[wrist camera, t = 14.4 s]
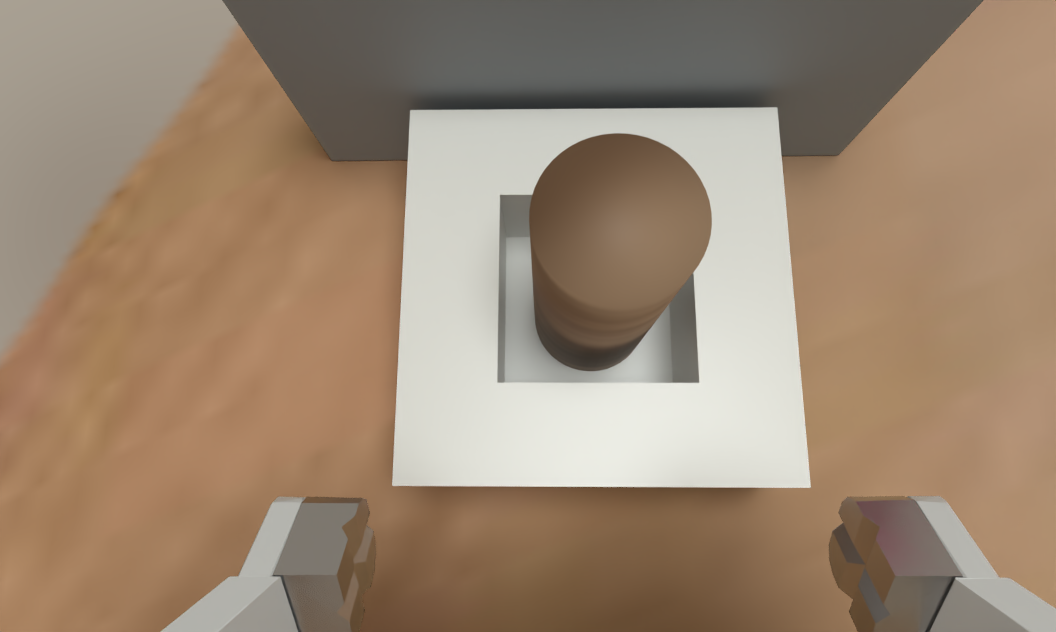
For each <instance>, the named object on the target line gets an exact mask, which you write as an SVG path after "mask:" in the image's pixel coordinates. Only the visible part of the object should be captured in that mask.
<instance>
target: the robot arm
mask: <svg viewBox="0 0 1056 632" xmlns="http://www.w3.org/2000/svg"><path fill="white" fill-rule="evenodd" d="M838 513H839V515H840V517H841V519H842V521H843V523H842V524H841V525H840V526H838V527H837V528H836V529H834V530H833V531H832V535H831V539H830V542H829V561H830V565H831V569H832V573H833V576H834V578H835V581H836V583H837V585H838V588H840V589H841V590H842V591H843V592H844V593H846V594H847V595H848V596H849V597H851V598H852V599H853V601H852V604H851V607H850V610H849V613H850V615H851V618H852V620H853V622H854V624H855V626H856V629H857V631H858V632H1056V608H1054V607H1052V606H1051V605H1049V604H1048V603H1046V602H1045V601H1043V600H1042V599H1040V598H1039V597H1037V596H1036V595H1034V594H1033V593H1031V592H1030V591H1028V590H1027V589H1025V588H1024V587H1022V586H1021V585H1019V584H1018V583H1016V582H1015V581H1013V580H1011V579H1010V578H999V576H998V575H997V573H996V572H995V570H994V569H993V567H992V566H991V565H990V563H989V562H988V560H987V559H986V557H985V556H984V555H983V553H982V552H981V550H980V549H979V547H978V546H977V544H976V543H975V542H974V540H973V539H972V537H971V536H970V534H969V533H968V531H967V530H966V529H965V527H964V526H963V524H962V523H961V521H960V520H959V518H958V517H957V516H956V514H955V513H954V511H953V510H952V508H951V507H950V506H949V504H948V503H947V501H946V500H944V499H943V498H941V497H940V496H908V497H905V496H876V497H847V498H846V499H845V500H844V501H843V502H842V503H841V506H840V509H839V512H838ZM369 514H370V511H369V507H368V503H367V500H366V499H364V498H336V497H277V498H276V499H275V501H274V502H273V503H272V504H271V505H270V507H269V510H268V512H267V514H266V516H265V518H264V521H263V523H262V525H261V527H260V529H259V531H258V534H257V536H256V538H255V540H254V542H253V545H252V547H251V549H250V551H249V553H248V555H247V558H246V560H245V562H244V564H243V566H242V569H241V571H240V573H239V575H238V576H229V577H228V578H227V579H225V580H224V581H223V582H222V583H221V584H219V585H218V586H217V587H216V588H214V589H213V590H212V591H211V592H209V593H208V594H207V595H206V596H204V597H203V598H202V599H201V600H199V601H198V602H197V603H196V604H194V605H193V606H192V607H191V608H189V609H188V610H187V611H186V612H184V613H183V614H182V615H181V616H179V617H178V618H177V619H176V620H174V621H173V622H172V623H171V624H169V625H168V626H167V627H166V628H164V629H163V630H162V631H161V632H359V631H360V627H361V623H362V619H363V615H364V612H365V609H364V604H363V600H362V595H363V594H364V593H365V592H366V591H367V590H368V589H369V588H370V587H371V584H372V579H373V575H374V570H375V560H376V542H375V536H374V531H373V530H372V529H371V528H369V527H368V526H367V522H368V518H369Z"/></svg>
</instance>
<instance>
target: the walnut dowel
mask: <svg viewBox="0 0 1056 632" xmlns="http://www.w3.org/2000/svg"><path fill="white" fill-rule="evenodd" d="M529 227H530V244H531V262H532V279H533V296H534V314H535V325H536V330H537V334H538V336H539V339H540V341H541V343H542V344H543V346H544V347H545V349H546V350H547V351H548V353H549V354H550V355H551V356H552V357H554V358H555V359H556V360H557V361H559V362H560V363H562V364H564V365H566V366H568V367H570V368H573V369H577V370H582V371H600V370H604V369H608V368H610V367H613V366H615V365H617V364H619V363H621V362H622V361H623V360H625V359H626V358H627V357H628V356H629V355H630V354H631V353H632V352H633V350H634V349H635V348H636V347H637V345H638V344H639V343H640V341H641V340H642V339H643V337H644V336H645V335H646V333H647V332H648V331H649V330H650V328H651V327H652V326H653V324H654V323H655V322H656V320H657V319H658V318H659V317H660V315H661V314H662V313H663V311H664V310H665V309H666V307H667V306H668V305H669V303H670V302H671V301H672V300H673V298H674V297H675V296H676V294H677V293H678V292H679V290H680V289H681V288H682V287H683V285H684V284H685V283H686V281H687V280H688V279H689V277H690V276H691V275H692V273H693V272H694V271H695V270H696V268H697V267H698V266H699V264H700V262H701V260H702V259H703V257H704V255H705V252H706V250H707V247H708V244H709V240H710V236H711V228H712V213H711V207H710V201H709V198H708V195H707V192H706V189H705V187H704V185H703V183H702V181H701V179H700V178H699V176H698V175H697V173H696V172H695V170H694V169H693V168H692V167H691V165H690V164H689V163H688V162H687V161H686V160H685V159H684V158H683V157H681V156H680V155H679V154H678V153H677V152H675V151H674V150H672V149H671V148H669V147H668V146H666V145H664V144H662V143H660V142H658V141H655V140H653V139H650V138H647V137H643V136H639V135H634V134H626V133H612V134H603V135H598V136H594V137H590V138H587V139H585V140H582V141H580V142H578V143H576V144H574V145H572V146H570V147H568V148H567V149H566V150H564V151H563V152H561V153H560V154H559V155H558V156H557V157H556V158H554V159H553V160H552V161H551V163H550V164H549V165H548V166H547V167H546V168H545V170H544V171H543V173H542V175H541V176H540V178H539V180H538V182H537V184H536V186H535V188H534V191H533V195H532V198H531V203H530V209H529Z"/></svg>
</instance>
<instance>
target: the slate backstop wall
mask: <svg viewBox="0 0 1056 632" xmlns="http://www.w3.org/2000/svg"><path fill="white" fill-rule="evenodd" d="M982 1H983V0H223V2H224V3H225V5H226V6H227V8H228V9H229V11H230V12H231V13H232V15H233V16H234V18H235V19H236V21H237V22H238V24H239V25H240V27H241V28H242V30H243V31H244V33H245V34H246V35H247V37H248V38H249V40H250V41H251V43H252V44H253V46H254V47H255V49H256V50H257V52H258V53H259V55H260V56H261V57H262V59H263V60H264V62H265V63H266V65H267V66H268V68H269V69H270V71H271V72H272V74H273V75H274V77H275V78H276V79H277V81H278V82H279V84H280V85H281V87H282V88H283V90H284V91H285V93H286V94H287V96H288V97H289V99H290V100H291V101H292V103H293V104H294V106H295V107H296V109H297V110H298V112H299V113H300V115H301V116H302V118H303V119H304V121H305V122H306V123H307V125H308V126H309V128H310V129H311V131H312V132H313V134H314V135H315V137H316V138H317V140H318V141H319V143H320V144H321V145H322V147H323V148H324V150H325V151H326V153H327V154H328V156H329V157H330V159H331V160H332V161H359V160H408V146H409V125H410V110H490V109H627V108H764V107H777V110H778V121H779V133H780V144H781V155H782V156H814V155H839V154H840V153H841V152H842V151H843V150H844V149H845V148H846V147H847V146H848V144H849V143H850V142H851V141H852V140H853V139H854V138H855V137H856V136H857V135H858V134H859V133H860V132H861V131H862V129H863V128H864V127H865V126H866V125H867V124H868V123H869V122H870V121H871V120H872V119H873V118H874V117H875V116H876V115H877V113H878V112H879V111H880V110H881V109H882V108H883V107H884V106H885V105H886V104H887V103H888V102H889V101H890V100H891V99H892V97H893V96H894V95H895V94H896V93H897V92H898V91H899V90H900V89H901V88H902V87H903V86H904V85H905V84H906V83H907V81H908V80H909V79H910V78H911V77H912V76H913V75H914V74H915V73H916V72H917V71H918V70H919V69H920V68H921V67H922V65H923V64H924V63H925V62H926V61H927V60H928V59H929V58H930V57H931V56H932V55H933V54H934V53H935V52H936V50H937V49H938V48H939V47H940V46H941V45H942V44H943V43H944V42H945V41H946V40H947V39H948V38H949V37H950V36H951V34H952V33H953V32H954V31H955V30H956V29H957V28H958V27H959V26H960V25H961V24H962V23H963V22H964V21H965V20H966V18H967V17H968V16H969V15H970V14H971V13H972V12H973V11H974V10H975V9H976V8H977V7H978V6H979V5H980V4H981V2H982Z"/></svg>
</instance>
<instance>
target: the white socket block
mask: <svg viewBox="0 0 1056 632" xmlns="http://www.w3.org/2000/svg"><path fill="white" fill-rule="evenodd" d="M612 133H626V134H634V135H639V136H643V137H647V138H650V139H653V140H655V141H658V142H660V143H662V144H664V145H666V146H668V147H669V148H671V149H672V150H674V151H675V152H677V153H678V154H679V155H680V156H681V157H683V158H684V159H685V160H686V161H687V162H688V163H689V164H690V165H691V167H692V168H693V169H694V170H695V172H696V173H697V175H698V176H699V178H700V179H701V181H702V183H703V185H704V187H705V189H706V192H707V195H708V198H709V201H710V207H711V213H712V228H711V236H710V240H709V244H708V247H707V250H706V252H705V255H704V257H703V259H702V260H701V262H700V264H699V266H698V267H697V268H696V270H695V271H694V272H693V273H692V275H691V276H690V277H689V279H688V280H687V281H686V283H685V284H684V285H683V287H682V288H681V289H680V290H679V292H678V293H677V294H676V296H675V297H674V298H673V300H672V301H671V302H670V303H669V305H668V306H667V307H666V309H665V310H664V311H663V313H662V314H661V315H660V317H659V318H658V319H657V320H656V322H655V323H654V324H653V326H652V327H651V328H650V330H649V331H648V332H647V333H646V335H645V336H644V337H643V339H642V340H641V341H640V343H639V344H638V345H637V347H636V348H635V349H634V350H633V352H632V353H631V354H630V355H629V356H628V357H627V358H626V359H625V360H623V361H622V362H621V363H619V364H617V365H615V366H613V367H610V368H608V369H604V370H600V371H582V370H577V369H573V368H570V367H568V366H566V365H564V364H562V363H560V362H559V361H557V360H556V359H555V358H554V357H552V356H551V355H550V354H549V353H548V351H547V350H546V349H545V347H544V346H543V344H542V343H541V341H540V339H539V336H538V334H537V330H536V325H535V314H534V296H533V279H532V262H531V244H530V227H529V209H530V203H531V198H532V195H533V191H534V188H535V186H536V184H537V182H538V180H539V178H540V176H541V175H542V173H543V171H544V170H545V168H546V167H547V166H548V165H549V164H550V163H551V161H552V160H553V159H554V158H556V157H557V156H558V155H559V154H560V153H561V152H563V151H564V150H566V149H567V148H568V147H570V146H572V145H574V144H576V143H578V142H580V141H582V140H585V139H587V138H590V137H594V136H598V135H603V134H612ZM392 486H531V487H746V488H811V485H810V474H809V463H808V451H807V440H806V428H805V417H804V406H803V394H802V383H801V372H800V360H799V349H798V337H797V326H796V315H795V303H794V292H793V281H792V269H791V258H790V246H789V235H788V224H787V212H786V201H785V190H784V178H783V167H782V155H781V144H780V133H779V121H778V110H777V107H764V108H627V109H490V110H410V125H409V146H408V166H407V187H406V208H405V229H404V250H403V271H402V291H401V312H400V333H399V354H398V375H397V396H396V416H395V437H394V458H393V479H392Z"/></svg>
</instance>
